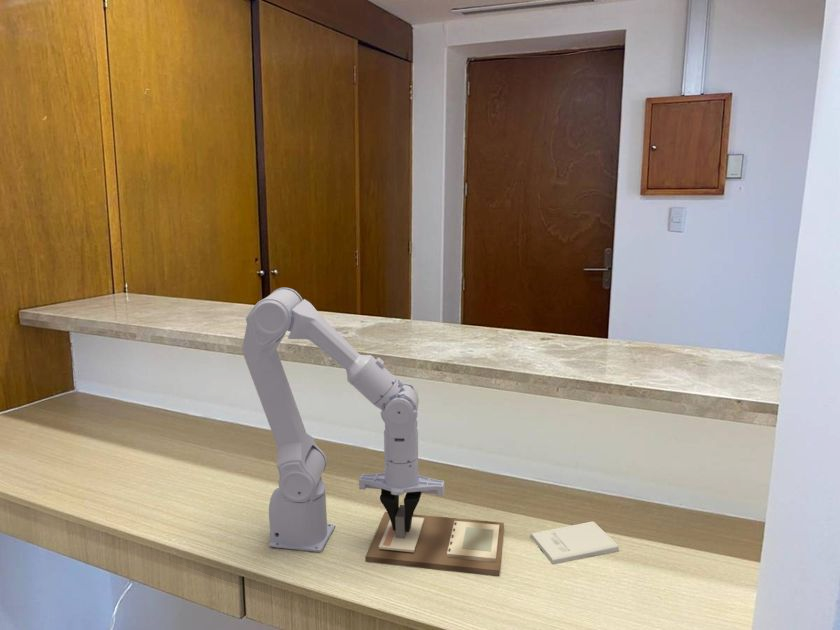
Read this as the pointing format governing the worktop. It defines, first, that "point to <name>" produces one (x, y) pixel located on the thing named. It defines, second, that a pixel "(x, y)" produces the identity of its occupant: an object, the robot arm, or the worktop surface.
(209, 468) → the worktop surface
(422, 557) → the ticket board
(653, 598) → the worktop surface
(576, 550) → the external hard drive
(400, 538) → the stub
